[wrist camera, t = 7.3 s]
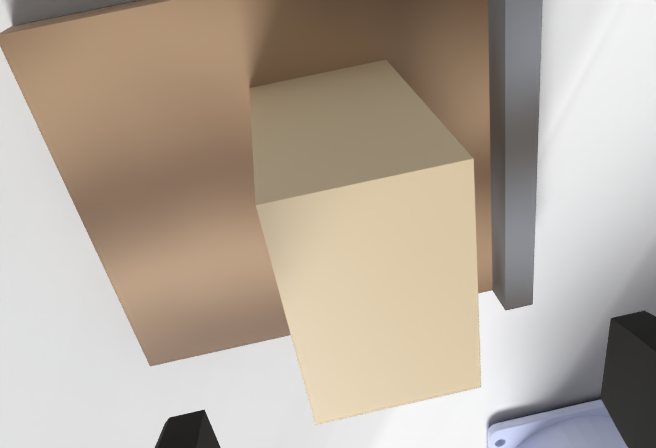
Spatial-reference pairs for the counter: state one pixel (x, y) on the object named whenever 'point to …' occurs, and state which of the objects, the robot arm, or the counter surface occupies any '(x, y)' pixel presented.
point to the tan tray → (236, 138)
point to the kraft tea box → (368, 238)
